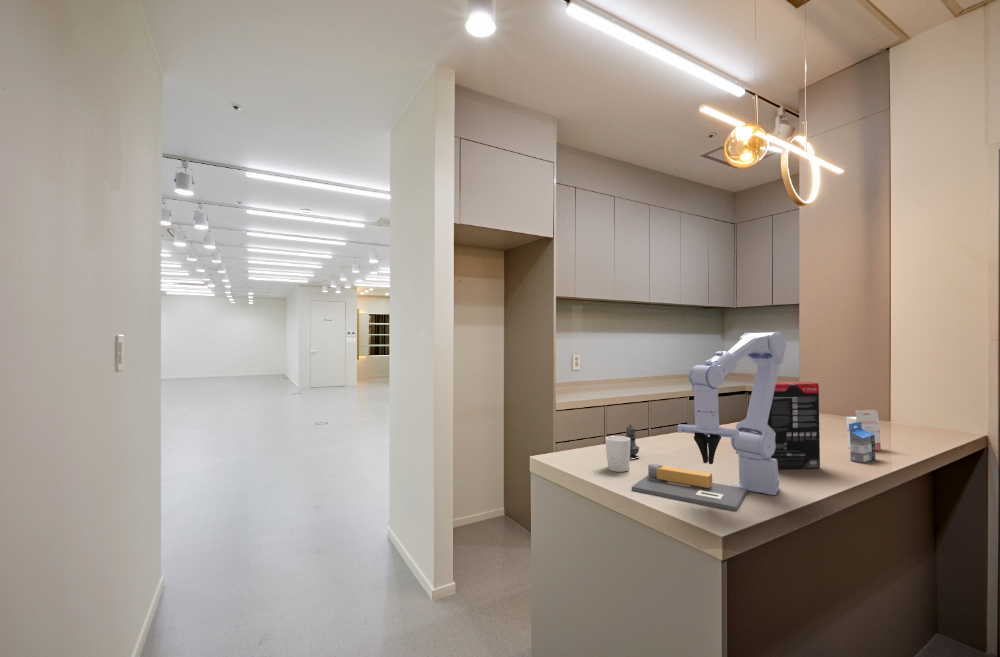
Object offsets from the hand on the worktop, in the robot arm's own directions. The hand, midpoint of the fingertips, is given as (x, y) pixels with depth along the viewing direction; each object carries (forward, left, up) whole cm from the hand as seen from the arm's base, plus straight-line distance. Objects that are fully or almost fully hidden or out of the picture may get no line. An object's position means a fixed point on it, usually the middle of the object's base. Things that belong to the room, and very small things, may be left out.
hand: (708, 462), depth 114 cm
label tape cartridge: (-33, -67, -10) cm, 75 cm away
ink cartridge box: (-34, -85, -10) cm, 92 cm away
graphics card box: (-14, -45, -10) cm, 48 cm away
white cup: (+30, -12, -10) cm, 34 cm away
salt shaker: (+32, -28, -10) cm, 44 cm away
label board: (+6, -3, -9) cm, 12 cm away
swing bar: (+10, -6, -8) cm, 14 cm away
